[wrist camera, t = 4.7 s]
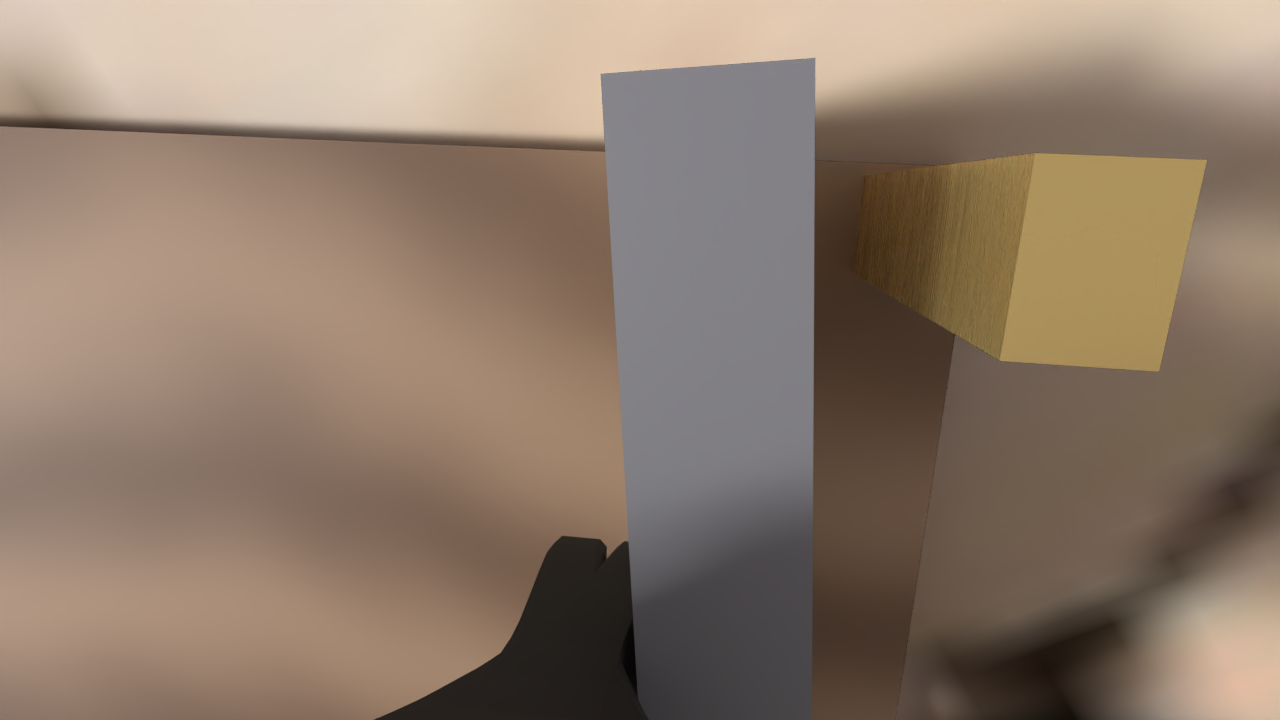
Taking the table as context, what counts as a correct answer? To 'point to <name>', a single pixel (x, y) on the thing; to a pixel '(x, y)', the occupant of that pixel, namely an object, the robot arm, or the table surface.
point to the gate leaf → (716, 380)
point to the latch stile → (1036, 252)
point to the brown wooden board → (370, 422)
